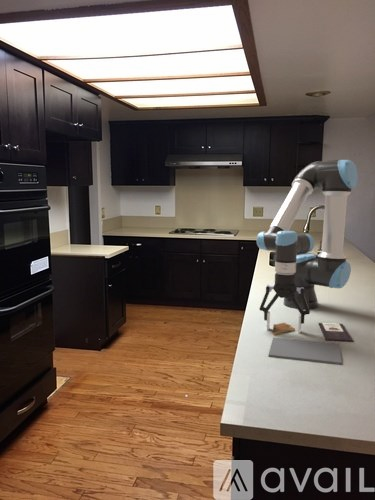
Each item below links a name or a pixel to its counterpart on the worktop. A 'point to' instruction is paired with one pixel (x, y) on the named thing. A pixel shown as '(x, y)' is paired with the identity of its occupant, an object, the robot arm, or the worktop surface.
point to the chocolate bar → (335, 332)
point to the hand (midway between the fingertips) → (283, 330)
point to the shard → (282, 328)
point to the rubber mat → (305, 350)
